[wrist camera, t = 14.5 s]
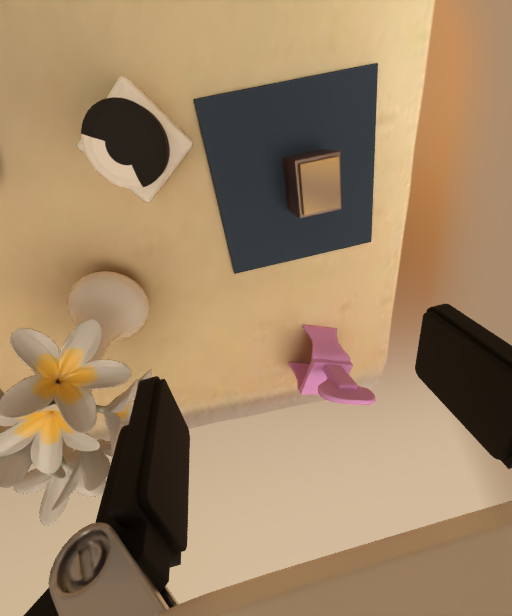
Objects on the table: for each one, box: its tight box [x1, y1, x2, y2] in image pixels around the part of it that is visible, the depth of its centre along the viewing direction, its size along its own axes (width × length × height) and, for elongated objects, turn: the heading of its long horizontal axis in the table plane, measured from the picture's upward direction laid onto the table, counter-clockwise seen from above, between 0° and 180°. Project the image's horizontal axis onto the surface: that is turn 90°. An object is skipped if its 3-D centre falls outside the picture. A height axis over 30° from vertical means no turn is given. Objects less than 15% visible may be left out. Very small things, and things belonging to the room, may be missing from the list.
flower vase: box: [0, 271, 152, 526], centre depth 29 cm, size 13×18×25 cm
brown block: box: [283, 149, 342, 219], centre depth 33 cm, size 6×5×6 cm
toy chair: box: [288, 325, 376, 405], centre depth 44 cm, size 8×9×15 cm
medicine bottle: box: [77, 76, 193, 203], centre depth 26 cm, size 7×7×12 cm
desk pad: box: [194, 63, 378, 274], centre depth 36 cm, size 20×20×1 cm
